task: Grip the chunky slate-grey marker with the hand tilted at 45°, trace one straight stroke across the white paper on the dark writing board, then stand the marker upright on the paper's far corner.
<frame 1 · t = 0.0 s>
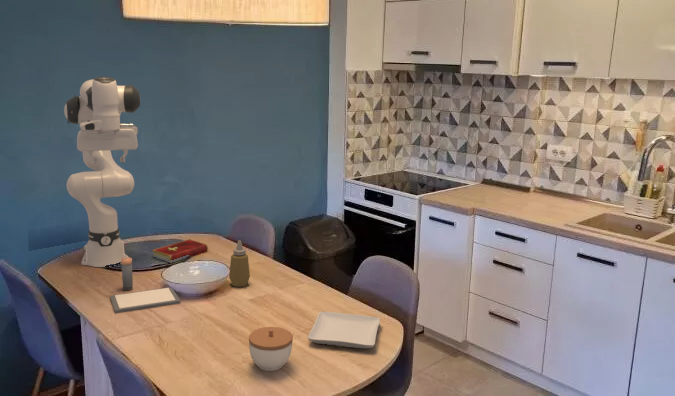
hand: (108, 162, 212), 48 cm above the table, tool pointing down, fingers open, 8 cm apart
squeeze bottle: (239, 285, 231), on the table
hardcover book: (180, 256, 262), on the table
marker: (127, 289, 222), on the table
lidded bowl: (270, 365, 173), on the table
salad plate: (345, 336, 193), on the table
writing board: (145, 300, 213), on the table
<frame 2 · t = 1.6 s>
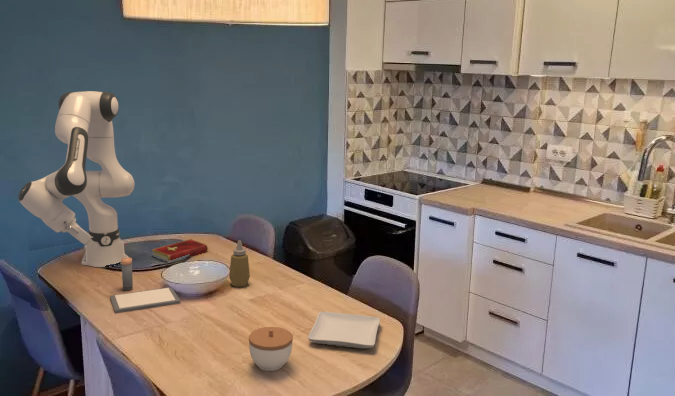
hand: (93, 244, 211), 19 cm above the table, tool tilted 45°, fingers open, 8 cm apart
nothing on the table moved.
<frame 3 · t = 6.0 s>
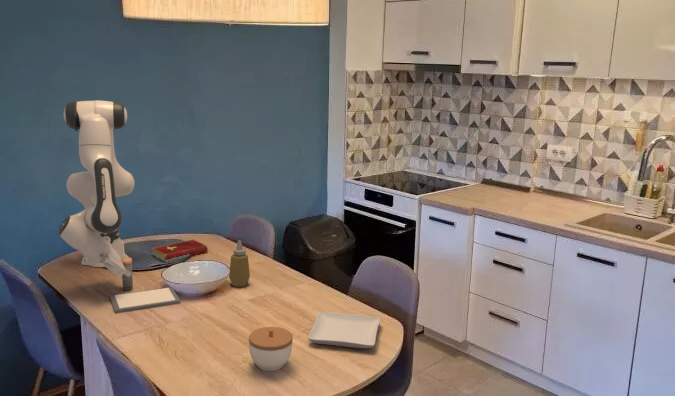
hand: (128, 272, 221), 7 cm above the table, tool tilted 45°, fingers closed on marker, 4 cm apart
marker: (127, 289, 222), on the table, touching gripper
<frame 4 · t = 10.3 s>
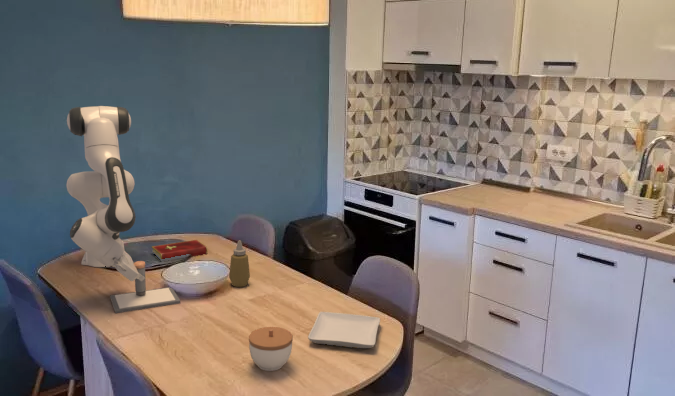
hand: (141, 276, 213), 8 cm above the table, tool tilted 45°, fingers closed on marker, 4 cm apart
marker: (140, 294, 214), point 2 cm above the table, touching gripper
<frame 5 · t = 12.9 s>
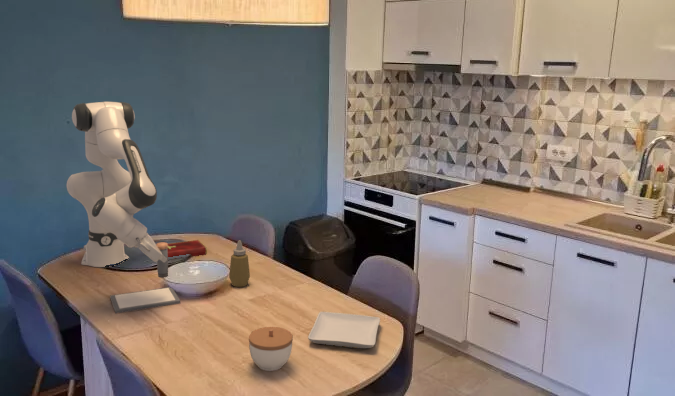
hand: (164, 258, 209), 16 cm above the table, tool tilted 45°, fingers closed on marker, 4 cm apart
marker: (163, 275, 210), point 10 cm above the table, touching gripper
when the fingers open (9 cm above the table, at t = 14.9 s): marker drops 1 cm, resting on writing board.
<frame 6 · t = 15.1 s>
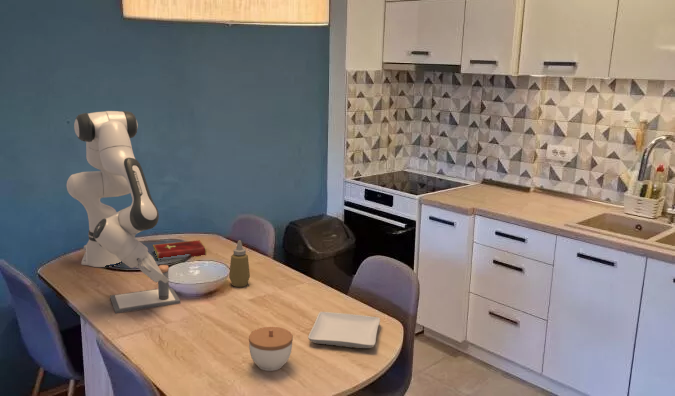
hand: (164, 277, 211), 9 cm above the table, tool tilted 45°, fingers open, 5 cm apart
marker: (163, 298, 213), point 1 cm above the table, touching writing board
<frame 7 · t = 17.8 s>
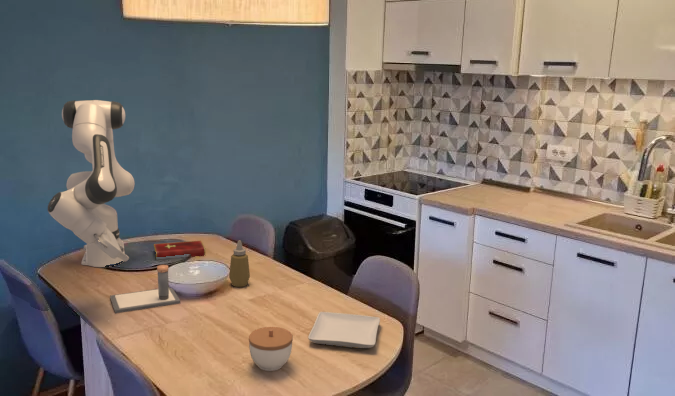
hand: (125, 255, 203), 19 cm above the table, tool tilted 45°, fingers open, 8 cm apart
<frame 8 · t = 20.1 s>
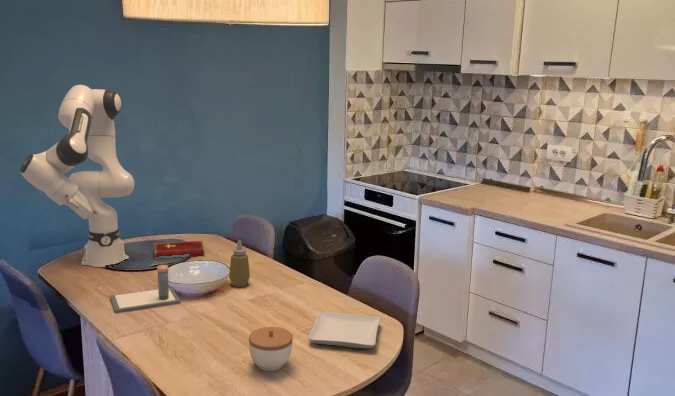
hand: (97, 217, 209), 29 cm above the table, tool tilted 45°, fingers open, 8 cm apart
at the end: marker 0.1 cm from the target spot on the writing board, point 1.2 cm above the writing board's base; marker tilted 0°; the gripper is holding nothing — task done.
